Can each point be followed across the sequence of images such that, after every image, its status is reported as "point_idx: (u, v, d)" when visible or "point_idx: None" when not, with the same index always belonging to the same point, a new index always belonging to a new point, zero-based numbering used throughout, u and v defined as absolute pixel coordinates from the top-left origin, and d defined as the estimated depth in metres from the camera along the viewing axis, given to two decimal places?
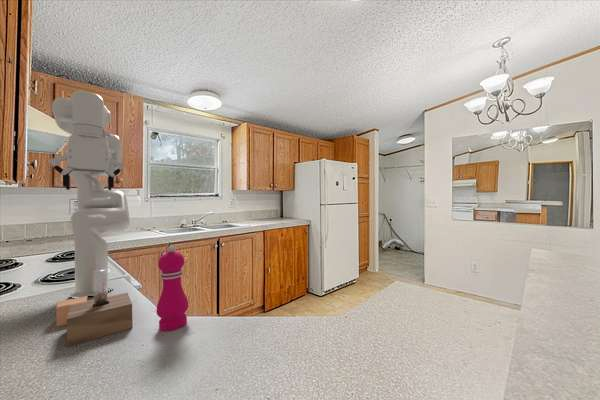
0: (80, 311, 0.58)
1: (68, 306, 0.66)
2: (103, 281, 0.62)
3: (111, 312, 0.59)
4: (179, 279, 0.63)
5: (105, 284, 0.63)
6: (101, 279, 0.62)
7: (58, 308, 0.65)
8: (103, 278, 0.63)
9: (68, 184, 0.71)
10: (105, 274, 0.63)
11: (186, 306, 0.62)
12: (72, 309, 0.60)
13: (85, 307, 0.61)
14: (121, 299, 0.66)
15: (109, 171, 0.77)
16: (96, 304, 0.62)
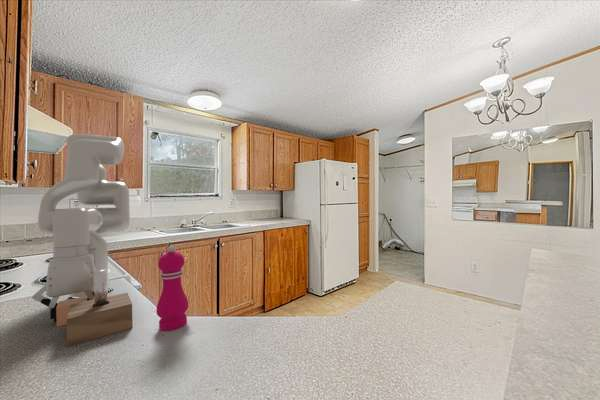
0: (80, 311, 0.58)
1: (68, 306, 0.66)
2: (103, 281, 0.62)
3: (111, 312, 0.59)
4: (179, 279, 0.63)
5: (105, 284, 0.63)
6: (101, 279, 0.62)
7: (58, 308, 0.65)
8: (103, 278, 0.63)
9: None
10: (105, 274, 0.63)
11: (186, 306, 0.62)
12: (72, 309, 0.60)
13: (85, 307, 0.61)
14: (121, 299, 0.66)
15: (89, 293, 0.70)
16: (96, 304, 0.62)
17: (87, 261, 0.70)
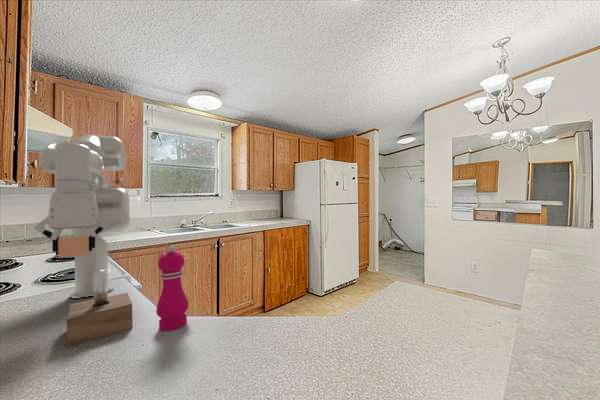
0: (80, 311, 0.58)
1: (70, 239, 0.66)
2: (103, 281, 0.62)
3: (111, 312, 0.59)
4: (179, 279, 0.63)
5: (105, 284, 0.63)
6: (101, 279, 0.62)
7: (60, 239, 0.65)
8: (103, 278, 0.63)
9: None
10: (105, 274, 0.63)
11: (186, 306, 0.62)
12: (72, 309, 0.60)
13: (85, 307, 0.61)
14: (121, 299, 0.66)
15: (91, 230, 0.70)
16: (96, 304, 0.62)
17: (89, 197, 0.69)
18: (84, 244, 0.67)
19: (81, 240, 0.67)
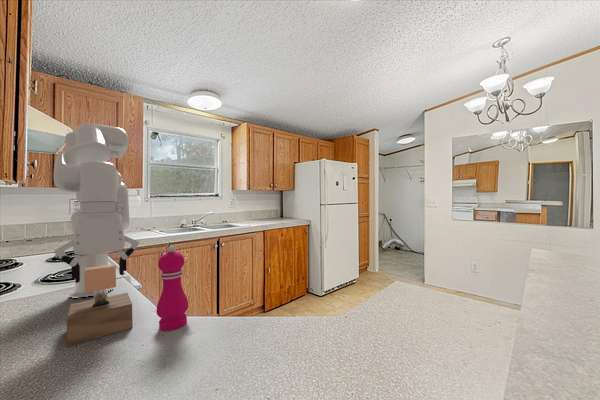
0: (80, 311, 0.58)
1: (96, 271, 0.60)
2: None
3: (111, 312, 0.59)
4: (179, 279, 0.63)
5: None
6: None
7: (86, 273, 0.59)
8: None
9: (78, 277, 0.59)
10: None
11: (186, 306, 0.62)
12: (72, 309, 0.60)
13: (85, 307, 0.61)
14: (121, 299, 0.66)
15: (121, 253, 0.65)
16: (96, 305, 0.62)
17: (116, 219, 0.64)
18: (111, 276, 0.62)
19: (108, 272, 0.62)
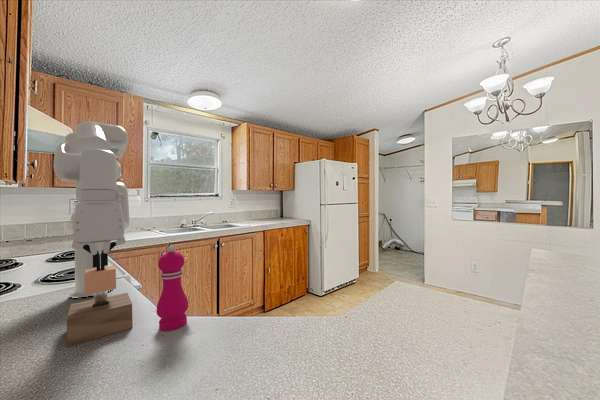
0: (80, 311, 0.58)
1: (97, 273, 0.60)
2: None
3: (111, 312, 0.59)
4: (179, 279, 0.63)
5: None
6: None
7: (86, 275, 0.59)
8: None
9: (99, 265, 0.62)
10: None
11: (186, 306, 0.62)
12: (72, 309, 0.60)
13: (85, 307, 0.61)
14: (121, 299, 0.66)
15: (107, 246, 0.63)
16: (96, 306, 0.62)
17: (115, 208, 0.64)
18: (111, 278, 0.62)
19: (108, 274, 0.62)
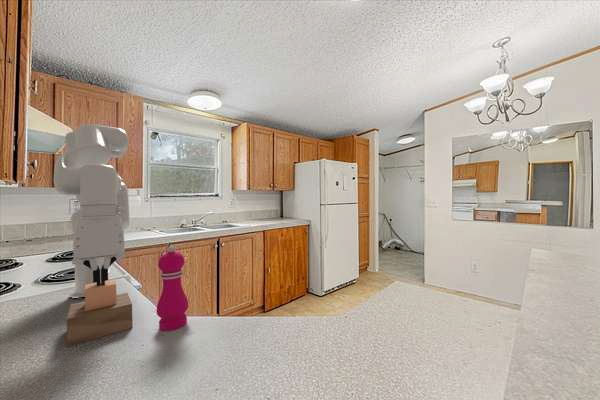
0: (80, 311, 0.58)
1: (97, 289, 0.60)
2: None
3: (111, 312, 0.59)
4: (179, 279, 0.63)
5: None
6: None
7: (86, 291, 0.59)
8: None
9: (99, 281, 0.62)
10: None
11: (186, 306, 0.62)
12: (72, 309, 0.60)
13: None
14: (121, 299, 0.66)
15: (107, 261, 0.63)
16: None
17: (116, 222, 0.64)
18: (111, 293, 0.62)
19: (108, 289, 0.62)
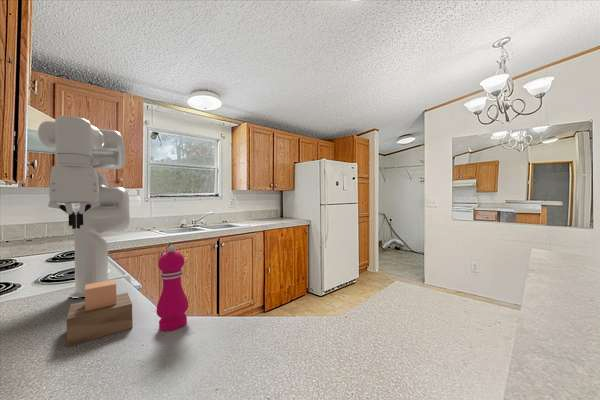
0: (80, 311, 0.58)
1: (97, 289, 0.60)
2: None
3: (111, 312, 0.59)
4: (179, 279, 0.63)
5: None
6: None
7: (86, 291, 0.59)
8: None
9: (75, 224, 0.67)
10: None
11: (186, 306, 0.62)
12: (72, 309, 0.60)
13: None
14: (121, 299, 0.66)
15: (82, 207, 0.69)
16: None
17: (90, 172, 0.69)
18: (111, 293, 0.62)
19: (108, 289, 0.62)
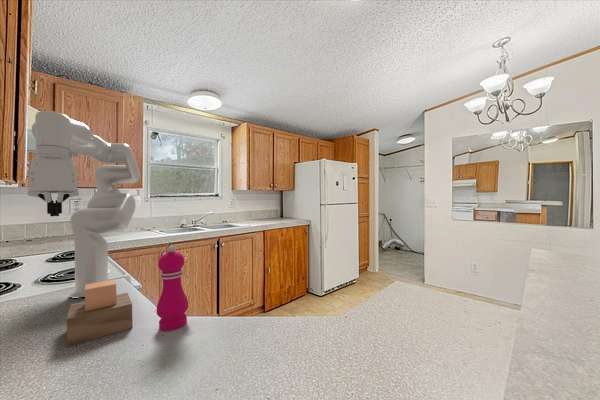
0: (80, 311, 0.58)
1: (97, 289, 0.60)
2: None
3: (111, 312, 0.59)
4: (179, 279, 0.63)
5: None
6: None
7: (86, 291, 0.59)
8: None
9: (53, 212, 0.71)
10: None
11: (186, 306, 0.62)
12: (72, 309, 0.60)
13: None
14: (121, 299, 0.66)
15: (61, 196, 0.73)
16: None
17: (68, 163, 0.74)
18: (111, 293, 0.62)
19: (108, 289, 0.62)
